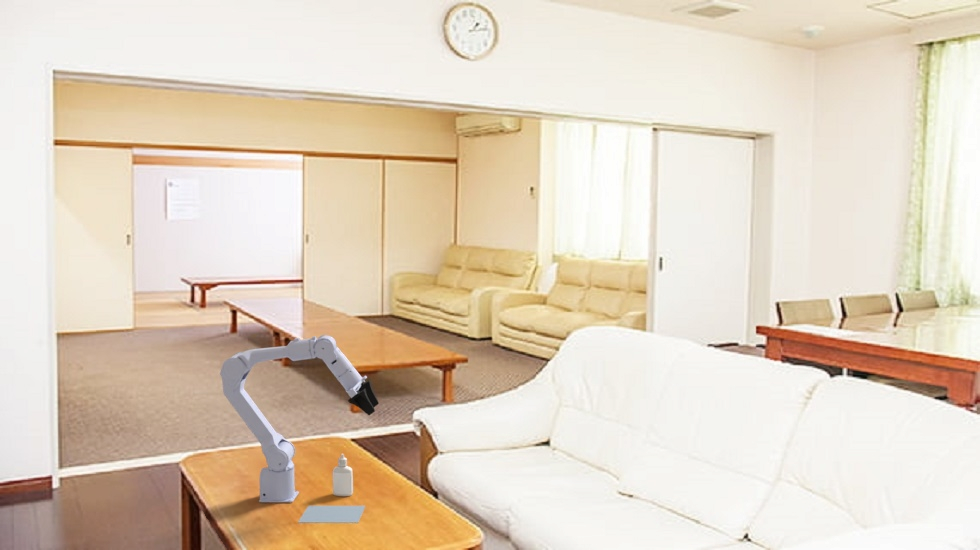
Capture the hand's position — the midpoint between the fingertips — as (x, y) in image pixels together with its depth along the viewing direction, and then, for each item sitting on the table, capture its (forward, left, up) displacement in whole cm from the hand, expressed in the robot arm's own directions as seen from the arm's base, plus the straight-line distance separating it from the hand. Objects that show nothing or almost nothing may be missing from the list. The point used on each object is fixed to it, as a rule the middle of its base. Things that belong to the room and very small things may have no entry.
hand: (374, 409), depth 232 cm
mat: (-10, -13, -26) cm, 30 cm away
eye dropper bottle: (-10, +2, -26) cm, 28 cm away
